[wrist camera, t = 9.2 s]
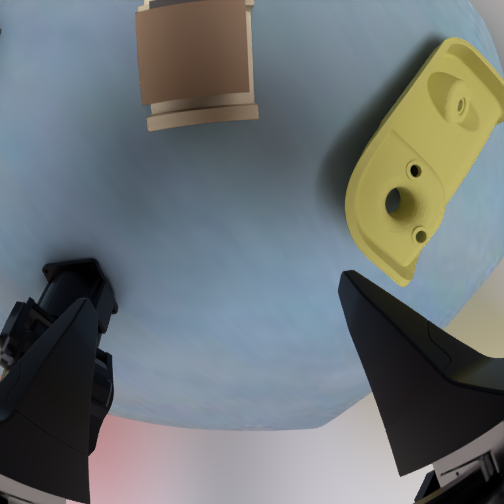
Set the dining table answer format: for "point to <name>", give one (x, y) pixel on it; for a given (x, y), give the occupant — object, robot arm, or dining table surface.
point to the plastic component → (422, 155)
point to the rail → (207, 99)
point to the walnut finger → (192, 49)
